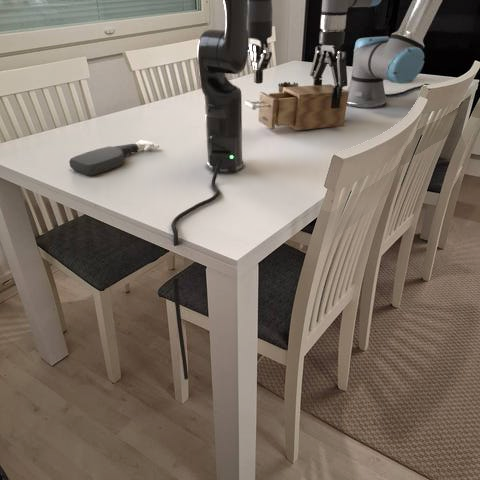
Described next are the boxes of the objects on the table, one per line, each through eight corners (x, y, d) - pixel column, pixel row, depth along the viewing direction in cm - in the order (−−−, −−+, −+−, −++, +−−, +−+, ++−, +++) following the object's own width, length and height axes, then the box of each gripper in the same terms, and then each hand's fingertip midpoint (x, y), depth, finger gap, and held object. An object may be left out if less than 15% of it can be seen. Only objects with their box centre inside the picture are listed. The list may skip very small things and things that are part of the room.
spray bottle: (67, 168, 120) (139, 144, 136) (91, 178, 114) (163, 151, 130) (65, 157, 118) (137, 134, 134) (89, 167, 112) (162, 142, 128)
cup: (274, 107, 166) (275, 85, 162) (282, 102, 172) (282, 80, 168) (293, 109, 163) (294, 87, 159) (300, 104, 169) (301, 82, 165)
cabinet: (296, 130, 141) (299, 94, 135) (280, 121, 149) (283, 87, 144) (343, 125, 147) (349, 91, 142) (326, 116, 156) (330, 84, 150)
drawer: (253, 131, 136) (255, 100, 131) (241, 122, 143) (242, 93, 138) (317, 124, 144) (321, 95, 139) (303, 116, 151) (306, 89, 147)
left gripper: (281, 20, 121) (279, 86, 130) (260, 16, 131) (260, 77, 140) (256, 21, 118) (256, 88, 127) (237, 17, 129) (238, 79, 138)
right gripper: (366, 34, 127) (356, 111, 139) (322, 25, 145) (316, 94, 157) (344, 35, 125) (335, 114, 136) (302, 26, 143) (298, 96, 155)
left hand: (258, 82), depth 134 cm, fingers closed
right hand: (325, 103), depth 147 cm, fingers closed on cabinet, 11 cm apart
